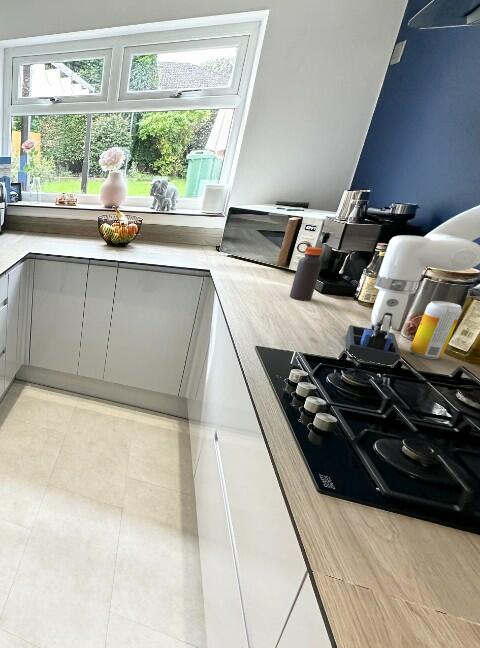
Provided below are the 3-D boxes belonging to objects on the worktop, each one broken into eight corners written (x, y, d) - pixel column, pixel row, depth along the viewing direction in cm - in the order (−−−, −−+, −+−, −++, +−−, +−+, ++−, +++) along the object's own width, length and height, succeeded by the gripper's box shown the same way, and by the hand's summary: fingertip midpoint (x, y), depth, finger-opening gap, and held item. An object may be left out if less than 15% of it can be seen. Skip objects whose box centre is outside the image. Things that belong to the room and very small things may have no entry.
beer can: (431, 351, 112) (452, 301, 107) (447, 361, 107) (470, 309, 102) (403, 348, 114) (423, 299, 109) (417, 358, 108) (439, 306, 103)
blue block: (384, 350, 109) (390, 333, 108) (385, 356, 106) (391, 339, 104) (359, 345, 112) (364, 328, 111) (359, 350, 109) (365, 334, 107)
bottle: (285, 296, 159) (298, 247, 152) (297, 294, 161) (311, 246, 154) (302, 301, 153) (317, 250, 146) (315, 300, 155) (330, 249, 148)
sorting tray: (389, 345, 116) (394, 333, 115) (395, 368, 103) (400, 354, 102) (345, 336, 122) (349, 324, 121) (346, 357, 109) (350, 344, 108)
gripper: (421, 294, 94) (395, 363, 100) (412, 279, 106) (389, 341, 112) (377, 288, 99) (355, 354, 105) (374, 275, 111) (353, 334, 117)
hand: (373, 347), depth 109 cm, fingers closed on blue block, 4 cm apart
